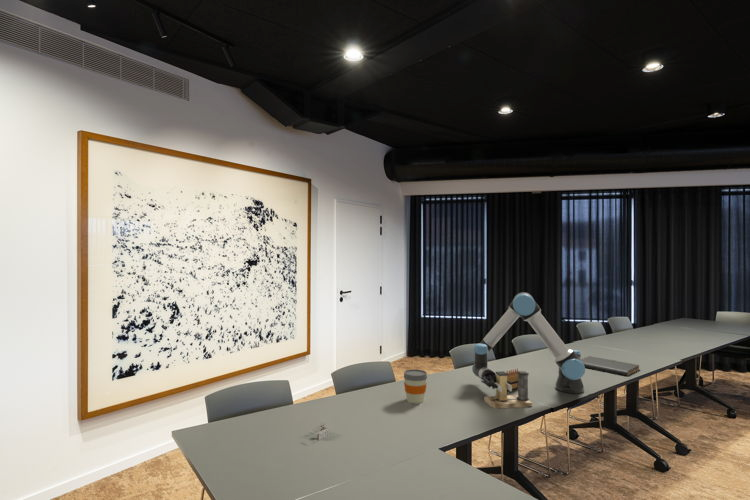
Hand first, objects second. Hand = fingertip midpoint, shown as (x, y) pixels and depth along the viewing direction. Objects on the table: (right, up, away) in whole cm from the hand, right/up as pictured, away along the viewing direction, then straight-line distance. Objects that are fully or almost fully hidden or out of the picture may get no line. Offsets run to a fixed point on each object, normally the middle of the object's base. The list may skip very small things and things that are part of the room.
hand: (506, 388), depth 216 cm
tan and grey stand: (+3, -10, +6) cm, 11 cm away
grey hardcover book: (+94, -11, +76) cm, 121 cm away
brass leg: (-1, -7, +5) cm, 9 cm away
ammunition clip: (+12, -10, +27) cm, 31 cm away
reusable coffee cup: (-46, -10, +10) cm, 48 cm away
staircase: (-92, -10, -37) cm, 99 cm away
